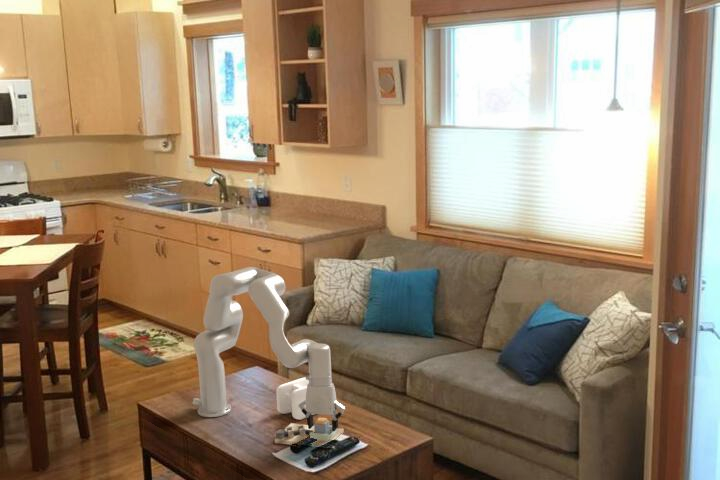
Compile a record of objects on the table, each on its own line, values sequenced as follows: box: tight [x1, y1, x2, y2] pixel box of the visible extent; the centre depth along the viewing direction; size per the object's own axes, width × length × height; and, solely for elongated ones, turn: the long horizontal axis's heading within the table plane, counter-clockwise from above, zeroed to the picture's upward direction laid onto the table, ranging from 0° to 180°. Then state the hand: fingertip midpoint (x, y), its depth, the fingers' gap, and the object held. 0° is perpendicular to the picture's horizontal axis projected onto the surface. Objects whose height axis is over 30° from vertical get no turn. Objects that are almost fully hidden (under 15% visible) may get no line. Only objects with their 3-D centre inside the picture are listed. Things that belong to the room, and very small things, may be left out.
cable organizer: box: [275, 376, 316, 421], centre depth 292 cm, size 15×11×12 cm
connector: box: [313, 417, 330, 435], centre depth 269 cm, size 4×4×6 cm
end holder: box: [310, 424, 336, 441], centre depth 270 cm, size 7×8×2 cm
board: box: [274, 422, 344, 446], centre depth 271 cm, size 20×14×4 cm
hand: (322, 428), depth 270 cm, fingers open, 8 cm apart
